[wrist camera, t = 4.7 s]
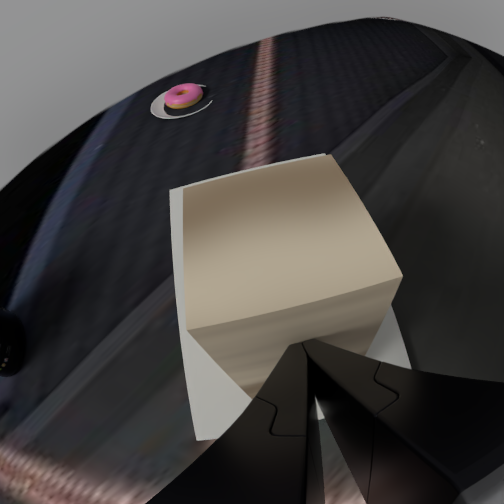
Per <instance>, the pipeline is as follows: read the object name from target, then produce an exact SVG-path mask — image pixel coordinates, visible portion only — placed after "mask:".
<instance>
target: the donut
mask: <svg viewBox="0 0 504 504" xmlns="http://www.w3.org/2000/svg"><path fill="white" fill-rule="evenodd" d="M200 86H204V85H197V84H192V83H188V84H182V85H178V86H175V87H173V88H171V89H170V90H169V91H167V92H165V93H163V94H161V95H160V96H159V97H157V98H156V99H155V100H154V102H153V103H152V105H151V112H152V114H153V115H155V116H157V117H159V118H165V119H173V118H180V117H185V116H189V115H192V114H194V113H197V112H199V111H201V110H203V109H204V108H206V107H207V106H208V105H209V104H210V103H211V102H212V101H211V102H210V103H209V104H208V105H207V106H205V107H204V108H202V109H200V110H198V111H196V112H194V113H191V114H188V115H184V116H170V115H167V114H166V113H165V112H164V109H163V107H164V103H166V105H167V106H169V107H170V108H174V109H182V108H187V107H190V106H192V105H194V104H196V103H197V102H198V101H199V100H200V99H201V98H202V95H203V92H202V89H201V87H200Z"/></svg>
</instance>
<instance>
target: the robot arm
mask: <svg viewBox="0 0 504 504" xmlns="http://www.w3.org/2000/svg"><path fill="white" fill-rule="evenodd" d="M315 397H316V398H315ZM316 400H317V403H318V405H319V407H320V409H321V411H322V413H323V415H324V417H325V420H326V422H327V424H328V426H329V428H330V430H331V432H332V434H333V436H334V438H335V440H336V442H337V444H338V446H339V448H340V450H341V453H342V455H343V457H344V459H345V461H346V463H347V465H348V467H349V469H350V471H351V473H352V475H353V477H354V479H355V481H356V483H357V485H358V487H359V489H360V491H361V493H362V495H363V498H364V500H365V502H366V503H367V504H504V383H503V382H494V381H485V380H477V379H469V378H462V377H455V376H448V375H442V374H435V373H429V372H423V371H418V370H413V369H408V368H404V367H400V366H397V365H393V364H390V363H387V362H381V361H379V360H376V359H372V358H369V357H366V356H363V355H360V354H357V353H354V352H351V351H348V350H345V349H342V348H339V347H337V346H334V345H331V344H328V343H325V342H322V341H319V340H317V339H310V340H306V341H303V342H302V343H300V342H298V343H294V344H290V345H289V346H288V347H287V349H286V350H285V352H284V353H283V355H282V356H281V358H280V359H279V361H278V363H277V364H276V366H275V367H274V369H273V370H272V372H271V373H270V375H269V376H268V378H267V379H266V381H265V382H264V384H263V385H262V387H261V388H260V390H259V391H258V393H257V394H256V395H255V397H254V398H253V399H252V400H251V402H250V403H249V405H248V406H247V407H246V409H245V410H244V411H243V412H242V414H241V415H240V416H239V417H238V418H237V419H236V421H235V422H234V423H233V424H232V425H231V426H230V427H229V428H228V429H227V430H226V431H225V432H224V433H223V434H222V435H221V436H220V437H219V438H218V439H217V440H216V441H215V442H214V443H213V444H212V445H211V446H210V447H209V448H208V449H207V450H206V451H205V452H204V453H203V454H202V455H200V456H199V457H198V458H197V459H196V460H195V461H194V462H193V463H192V464H191V465H190V466H189V467H187V468H186V469H185V470H184V471H183V472H182V473H181V474H180V475H179V476H177V477H176V478H175V479H174V480H173V481H172V482H171V483H169V484H168V485H167V486H166V487H165V488H164V489H162V490H161V491H160V492H159V493H158V494H156V495H155V496H154V497H153V498H152V499H150V500H149V501H148V502H147V503H145V504H325V495H324V480H323V467H322V455H321V444H320V433H319V423H318V413H317V405H316Z"/></svg>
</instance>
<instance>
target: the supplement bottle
mask: <svg viewBox="0 0 504 504" xmlns="http://www.w3.org/2000/svg"><path fill="white" fill-rule="evenodd" d="M24 351H25V333H24V328H23V325H22V323H21V321H20V319H19V318H18V317H17V316H16V315H15V314H14V313H12V312H11V311H9V310H7V309H5V308H3V307H1V306H0V376H1V377H8V376H11V375H13V374H14V373H15V372H16V371H17V370H18V368H19V366H20V365H21V362H22V359H23V356H24Z"/></svg>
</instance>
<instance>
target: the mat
mask: <svg viewBox="0 0 504 504" xmlns="http://www.w3.org/2000/svg"><path fill="white" fill-rule="evenodd" d="M319 156H325V153H324V154H318V155H313V156H308V157H303V158H298V159H293V160H288V161H283V162H279V163H274V164H269V165H265V166H261V167H256V168H252V169H248V170H243V171H239V172H235V173H231V174H227V175H223V176H219V177H215V178H212V179H208V180H204V181H200V182H197V183H193V184H190V185H186V186H182V187H179V188H175V189H172V190H170V216H171V236H172V253H173V267H174V280H175V292H176V302H177V312H178V321H179V330H180V339H181V347H182V354H183V362H184V369H185V376H186V382H187V389H188V395H189V401H190V407H191V413H192V418H193V424H194V429H195V434H196V439H197V441H198V440H209V439H218V438H219V437H220V436H221V435H222V434H223V433H224V432H225V431H226V430H227V429H228V428H229V427H230V426H231V425H232V424H233V423H234V422H235V421H236V419H237V418H238V417H239V416H240V415H241V414H242V412H243V411H244V410H245V409H246V407H247V406H248V405H249V403H250V402H251V400H252V399H251V398H250V397H249V396H248V395H247V394H246V393H245V392H244V391H243V390H242V389H241V388H240V387H239V386H238V385H237V384H236V383H235V382H234V381H233V380H232V379H231V378H230V377H229V376H228V375H227V374H226V373H225V372H224V371H223V370H222V369H221V368H220V366H219V365H218V364H217V363H216V362H215V361H214V360H213V359H212V358H211V357H210V356H209V355H208V354H207V353H206V351H205V350H204V349H203V348H202V347H201V346H200V345H199V344H198V343H197V342H196V340H195V339H194V338H193V337H192V336H191V335H190V334H189V333H188V331H187V330H186V315H185V294H184V267H183V188H187V187H190V186H194V185H198V184H201V183H205V182H209V181H213V180H216V179H220V178H224V177H228V176H232V175H236V174H240V173H244V172H249V171H253V170H257V169H262V168H266V167H270V166H275V165H280V164H284V163H289V162H294V161H299V160H304V159H309V158H314V157H319ZM365 356H366V357H369V358H372V359H376V360H379V361H381V362H387V363H390V364H393V365H397V366H400V367H404V368H408V369H411V365H410V362H409V358H408V355H407V352H406V348H405V345H404V342H403V339H402V336H401V332H400V329H399V326H398V323H397V320H396V317H395V314H394V311H393V309H392V306H391V305H390V307H389V309H388V311H387V313H386V315H385V318H384V320H383V322H382V324H381V326H380V328H379V330H378V332H377V334H376V336H375V338H374V340H373V342H372V344H371V345H370V347H369V349H368V351H367V353H366V355H365ZM315 398H316V397H315ZM316 405H317V413H318V420H319V419H323V418H325V417H324V415H323V413H322V411H321V409H320V407H319V405H318V403H317V400H316Z"/></svg>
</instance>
